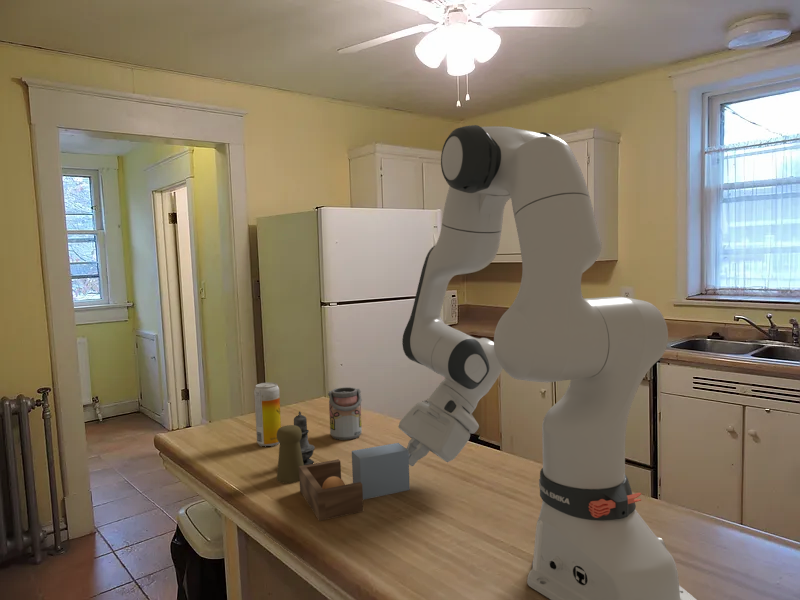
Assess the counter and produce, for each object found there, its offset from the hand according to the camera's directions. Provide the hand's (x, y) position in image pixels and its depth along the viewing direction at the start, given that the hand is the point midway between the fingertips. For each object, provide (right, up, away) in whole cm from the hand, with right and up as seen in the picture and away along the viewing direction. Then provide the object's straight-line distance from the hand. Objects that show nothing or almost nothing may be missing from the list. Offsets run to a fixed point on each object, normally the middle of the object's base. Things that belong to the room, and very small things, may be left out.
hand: (406, 462), depth 114 cm
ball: (-14, -1, -6) cm, 15 cm away
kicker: (-5, -5, -2) cm, 7 cm away
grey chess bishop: (-23, -5, +14) cm, 28 cm away
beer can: (-34, -4, +29) cm, 45 cm away
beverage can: (-15, -3, +33) cm, 36 cm away
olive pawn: (-24, -5, +6) cm, 26 cm away
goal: (-14, -5, -6) cm, 16 cm away
